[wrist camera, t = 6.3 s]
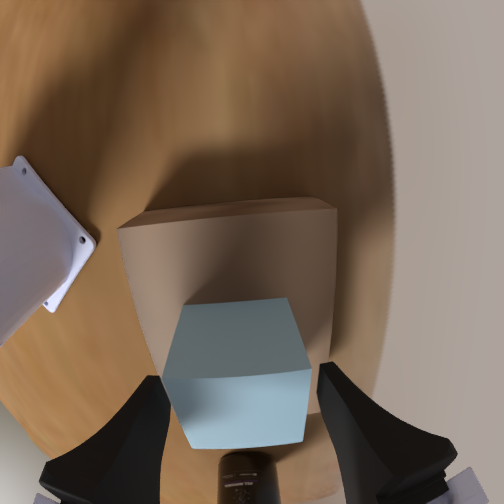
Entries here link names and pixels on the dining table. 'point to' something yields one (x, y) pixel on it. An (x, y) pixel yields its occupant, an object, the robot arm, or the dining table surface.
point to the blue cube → (238, 375)
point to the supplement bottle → (248, 479)
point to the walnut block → (234, 266)
